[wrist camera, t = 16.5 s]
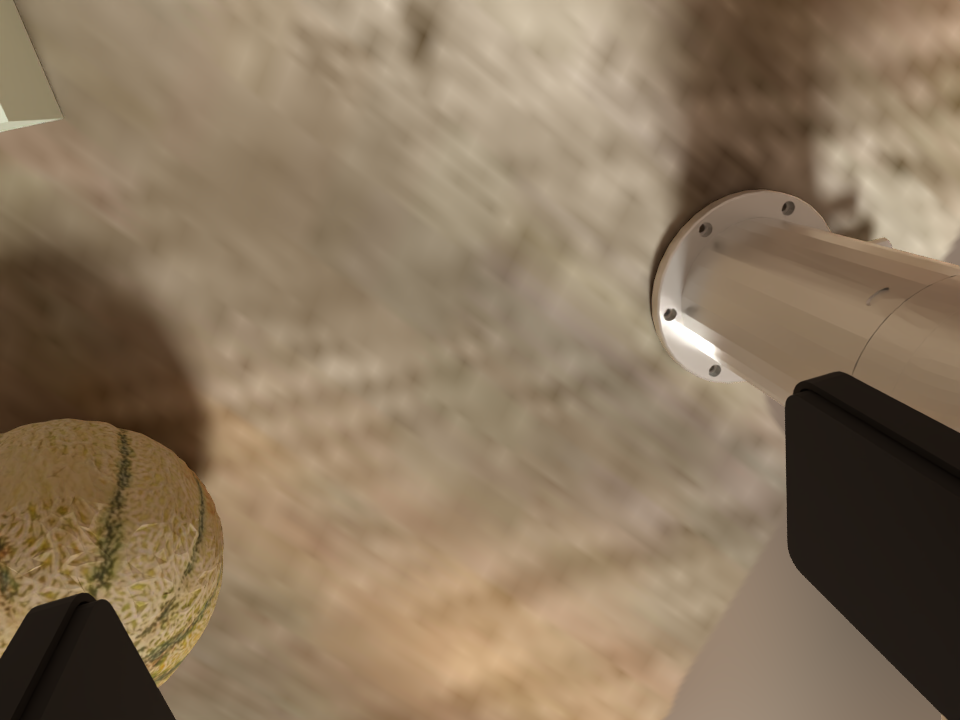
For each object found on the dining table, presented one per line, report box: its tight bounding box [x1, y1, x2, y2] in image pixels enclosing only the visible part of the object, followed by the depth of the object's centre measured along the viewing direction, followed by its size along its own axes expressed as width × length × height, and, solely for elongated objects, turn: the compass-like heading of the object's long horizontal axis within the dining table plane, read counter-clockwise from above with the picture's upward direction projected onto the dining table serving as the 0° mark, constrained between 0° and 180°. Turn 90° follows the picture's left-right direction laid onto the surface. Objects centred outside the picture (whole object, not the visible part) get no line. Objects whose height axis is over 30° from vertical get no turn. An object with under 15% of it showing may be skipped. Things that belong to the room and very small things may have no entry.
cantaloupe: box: [0, 418, 224, 687], centre depth 32 cm, size 15×15×15 cm
